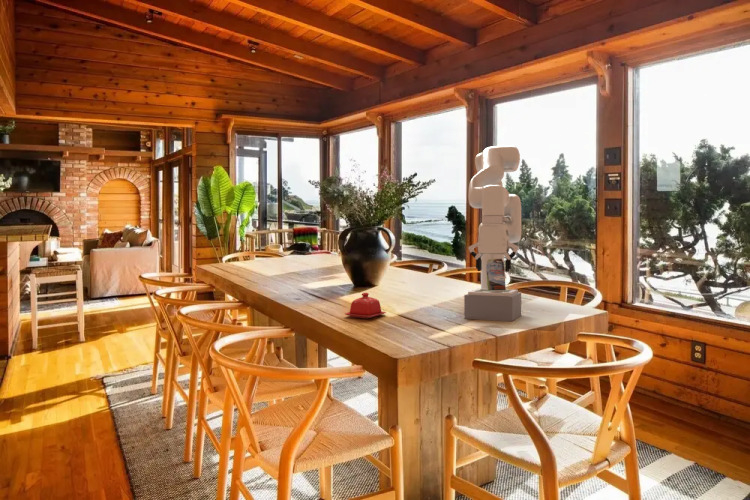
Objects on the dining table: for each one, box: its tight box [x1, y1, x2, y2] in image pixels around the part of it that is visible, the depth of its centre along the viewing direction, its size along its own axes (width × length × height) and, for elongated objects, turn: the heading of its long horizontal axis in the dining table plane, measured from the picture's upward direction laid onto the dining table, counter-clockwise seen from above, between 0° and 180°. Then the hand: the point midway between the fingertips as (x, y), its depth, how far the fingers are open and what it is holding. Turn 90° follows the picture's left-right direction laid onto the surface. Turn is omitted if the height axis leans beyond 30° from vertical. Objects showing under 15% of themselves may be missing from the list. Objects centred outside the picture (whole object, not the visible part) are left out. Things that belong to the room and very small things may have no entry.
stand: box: [463, 288, 522, 322], centre depth 189 cm, size 16×16×9 cm
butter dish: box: [344, 292, 387, 319], centre depth 194 cm, size 12×12×8 cm
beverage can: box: [486, 258, 507, 293], centre depth 189 cm, size 6×7×12 cm
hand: (493, 271), depth 189 cm, fingers open, 9 cm apart
